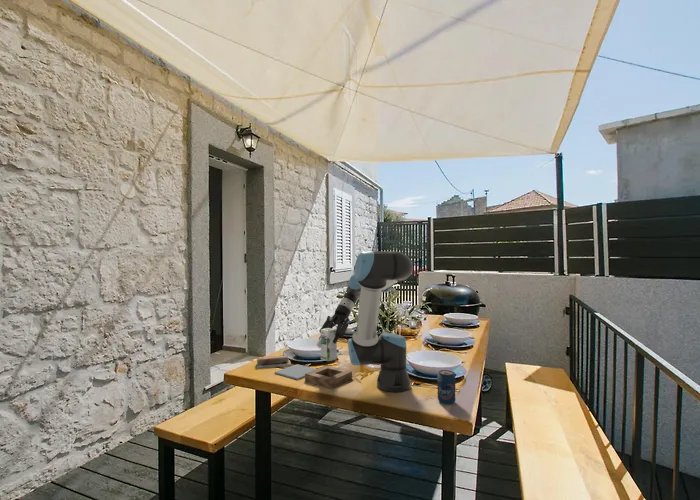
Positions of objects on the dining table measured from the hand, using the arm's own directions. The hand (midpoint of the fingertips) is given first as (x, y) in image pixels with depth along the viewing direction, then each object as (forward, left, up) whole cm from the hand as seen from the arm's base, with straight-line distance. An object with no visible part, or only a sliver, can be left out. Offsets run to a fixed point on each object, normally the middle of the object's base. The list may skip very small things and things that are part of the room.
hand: (323, 347), depth 165 cm
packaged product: (+39, -4, -17) cm, 43 cm away
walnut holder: (-1, -3, -16) cm, 16 cm away
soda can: (-56, -11, -16) cm, 59 cm away
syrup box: (0, -4, -7) cm, 8 cm away
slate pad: (+19, -2, -16) cm, 25 cm away
